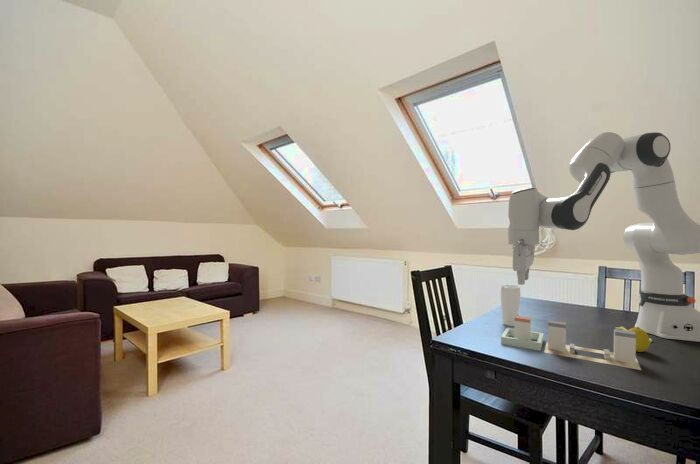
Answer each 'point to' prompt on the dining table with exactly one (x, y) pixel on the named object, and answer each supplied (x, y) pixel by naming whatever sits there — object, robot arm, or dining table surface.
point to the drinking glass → (510, 303)
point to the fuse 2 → (624, 346)
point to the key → (627, 330)
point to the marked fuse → (522, 327)
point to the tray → (522, 340)
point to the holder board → (611, 361)
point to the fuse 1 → (557, 335)
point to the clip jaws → (606, 351)
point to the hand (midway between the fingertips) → (523, 282)
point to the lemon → (641, 339)
